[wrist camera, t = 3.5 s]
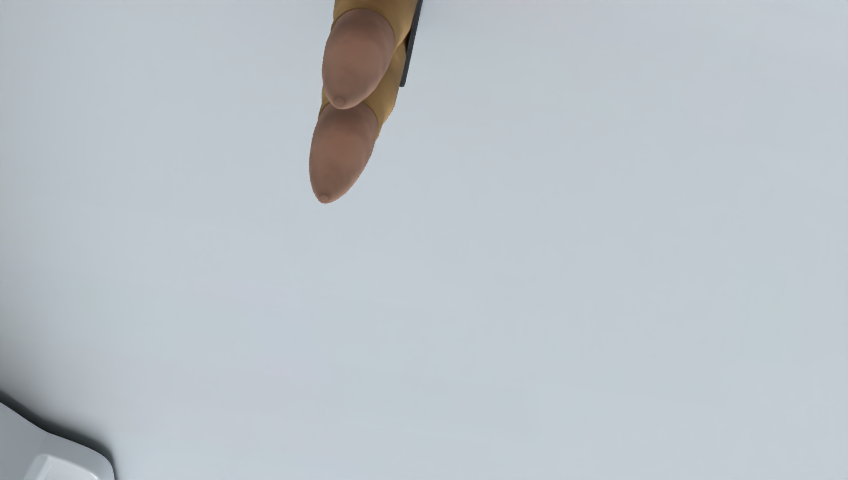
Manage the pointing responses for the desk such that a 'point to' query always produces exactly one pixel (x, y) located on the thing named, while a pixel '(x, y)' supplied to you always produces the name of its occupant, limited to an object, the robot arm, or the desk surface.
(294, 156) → the desk surface
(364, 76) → the ammunition clip
